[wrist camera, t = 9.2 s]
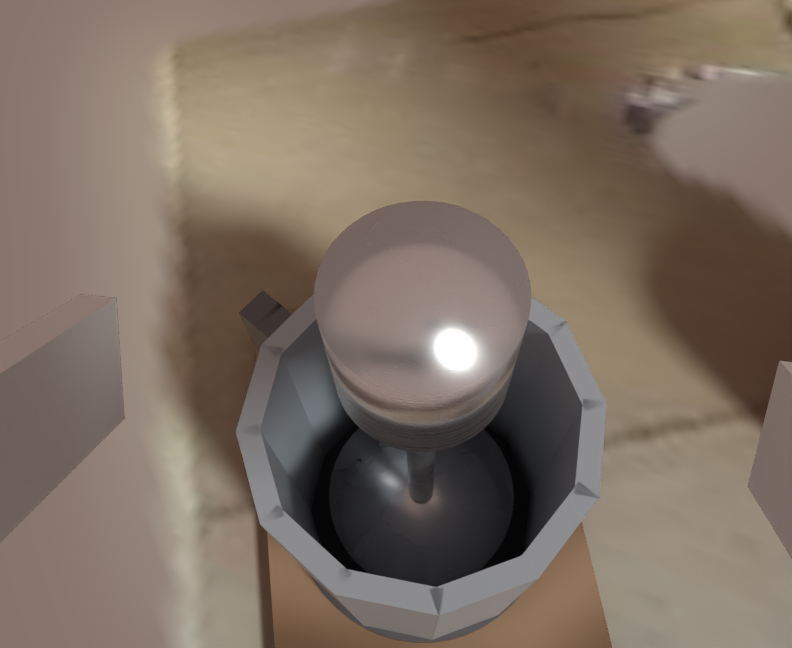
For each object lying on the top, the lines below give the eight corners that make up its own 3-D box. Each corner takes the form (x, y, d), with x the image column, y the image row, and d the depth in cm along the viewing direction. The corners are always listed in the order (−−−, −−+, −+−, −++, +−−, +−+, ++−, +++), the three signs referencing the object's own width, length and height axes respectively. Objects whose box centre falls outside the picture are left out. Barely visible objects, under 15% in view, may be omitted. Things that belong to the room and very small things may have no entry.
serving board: (257, 324, 40) (252, 314, 39) (519, 288, 40) (521, 277, 39) (290, 814, 30) (285, 819, 29) (632, 759, 31) (639, 762, 30)
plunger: (411, 377, 34) (402, 88, 18) (548, 486, 32) (686, 271, 15) (293, 506, 32) (157, 311, 15) (432, 633, 30) (448, 566, 13)
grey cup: (371, 321, 38) (350, 161, 27) (595, 495, 34) (686, 397, 23) (210, 488, 35) (104, 388, 23) (437, 704, 31) (447, 716, 19)
